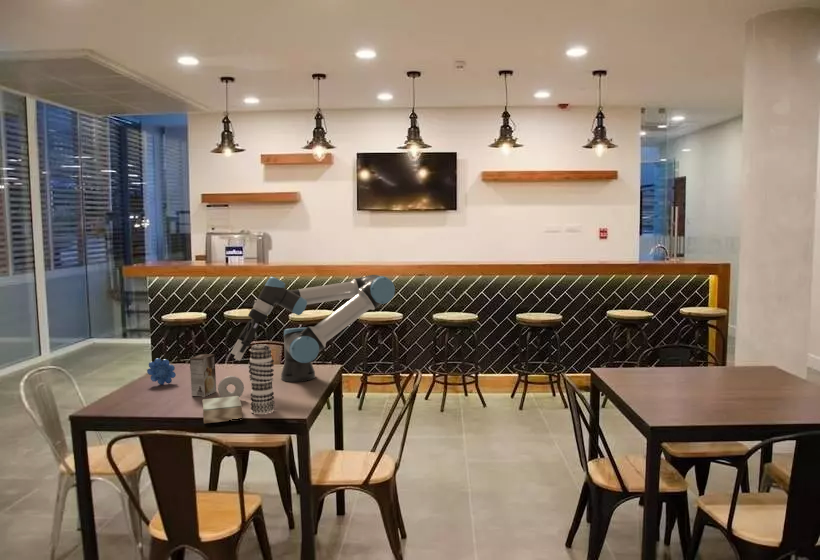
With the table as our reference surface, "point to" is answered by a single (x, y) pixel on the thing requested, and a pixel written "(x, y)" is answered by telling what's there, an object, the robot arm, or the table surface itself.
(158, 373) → the blue lobed piece
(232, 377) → the donut
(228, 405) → the riser
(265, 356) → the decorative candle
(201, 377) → the coffee box
